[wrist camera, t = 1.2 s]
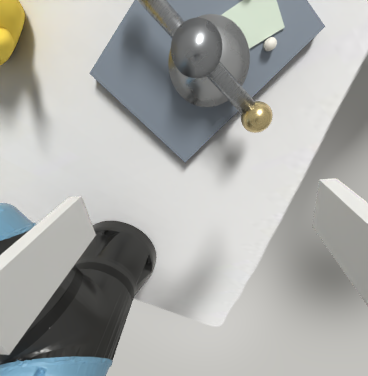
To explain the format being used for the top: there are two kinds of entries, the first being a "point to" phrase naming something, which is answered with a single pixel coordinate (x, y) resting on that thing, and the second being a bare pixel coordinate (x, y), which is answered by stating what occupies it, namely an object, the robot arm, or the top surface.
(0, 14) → the yellow sugar bowl
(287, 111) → the top surface
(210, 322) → the top surface
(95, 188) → the top surface
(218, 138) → the top surface
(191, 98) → the grey lever with knob
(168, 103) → the stand
